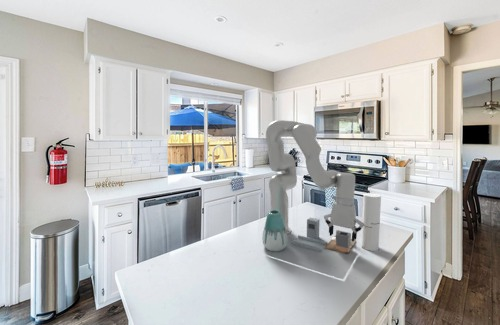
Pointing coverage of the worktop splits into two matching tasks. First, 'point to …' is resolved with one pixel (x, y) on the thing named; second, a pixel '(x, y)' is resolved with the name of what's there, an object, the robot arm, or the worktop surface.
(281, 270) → the worktop surface
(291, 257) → the worktop surface
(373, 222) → the cylindrical container
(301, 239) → the chute
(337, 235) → the sleeve
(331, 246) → the pin board
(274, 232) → the vase
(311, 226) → the gray rectangular block
